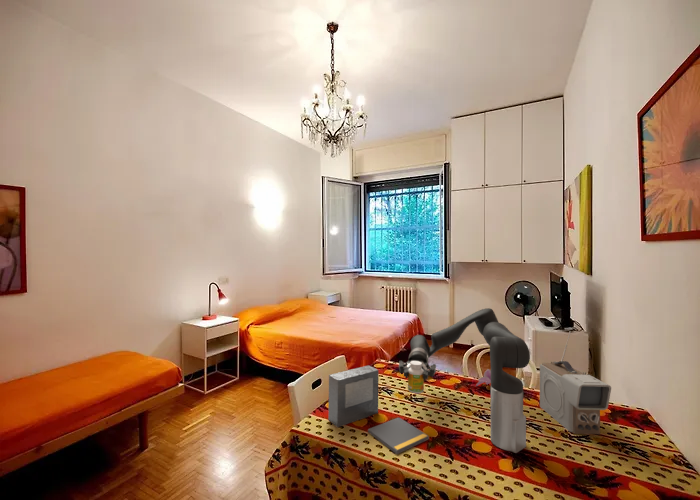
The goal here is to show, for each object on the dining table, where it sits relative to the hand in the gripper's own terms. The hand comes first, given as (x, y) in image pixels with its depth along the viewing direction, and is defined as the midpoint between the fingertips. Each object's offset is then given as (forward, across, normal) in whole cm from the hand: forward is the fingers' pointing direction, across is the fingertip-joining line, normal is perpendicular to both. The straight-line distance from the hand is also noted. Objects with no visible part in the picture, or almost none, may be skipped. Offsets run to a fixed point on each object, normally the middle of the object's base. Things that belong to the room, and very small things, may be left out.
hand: (415, 376), depth 109 cm
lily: (-42, -29, -18) cm, 54 cm away
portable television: (-21, -54, -18) cm, 61 cm away
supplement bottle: (-3, 0, -6) cm, 7 cm away
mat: (+7, +5, -17) cm, 19 cm away
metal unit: (-1, +22, -18) cm, 28 cm away
